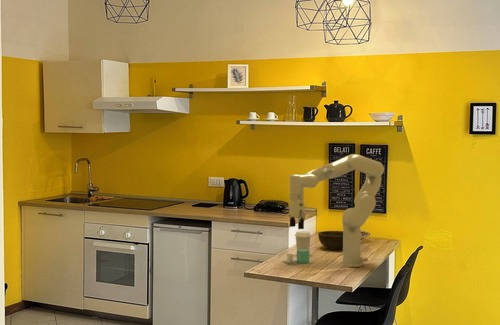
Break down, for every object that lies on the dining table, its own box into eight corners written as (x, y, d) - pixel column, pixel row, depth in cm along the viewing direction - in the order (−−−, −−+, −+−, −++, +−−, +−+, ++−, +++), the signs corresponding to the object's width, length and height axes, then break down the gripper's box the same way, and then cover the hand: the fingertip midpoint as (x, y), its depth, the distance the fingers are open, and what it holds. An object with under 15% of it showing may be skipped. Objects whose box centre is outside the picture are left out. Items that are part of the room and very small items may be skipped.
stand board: (303, 261, 333) (303, 259, 333) (311, 265, 323) (311, 263, 323) (281, 263, 328) (281, 261, 328) (288, 267, 318) (288, 265, 318)
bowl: (352, 246, 380) (352, 231, 379) (352, 253, 358) (352, 236, 358) (319, 245, 384) (319, 230, 383) (317, 251, 362) (317, 235, 362)
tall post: (291, 262, 326) (291, 253, 325) (293, 263, 323) (293, 254, 323) (286, 262, 325) (286, 253, 324) (288, 263, 322) (288, 254, 322)
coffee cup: (291, 257, 345) (291, 232, 344) (301, 255, 352) (301, 230, 351) (304, 260, 338) (304, 234, 337) (314, 257, 345) (314, 232, 344)
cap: (305, 260, 330) (305, 249, 330) (309, 262, 325) (309, 250, 325) (296, 261, 328) (296, 249, 328) (300, 263, 324) (300, 251, 323)
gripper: (310, 197, 314) (310, 229, 315) (295, 195, 330) (295, 225, 331) (298, 198, 311) (298, 230, 312) (283, 195, 327) (283, 226, 328)
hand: (296, 227), depth 321 cm, fingers open, 9 cm apart
